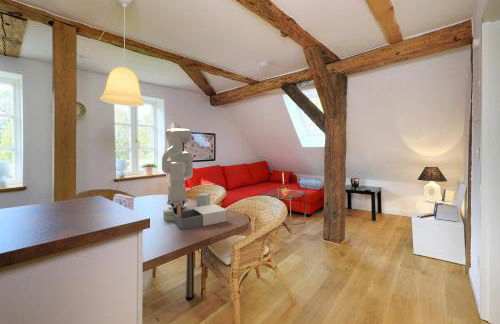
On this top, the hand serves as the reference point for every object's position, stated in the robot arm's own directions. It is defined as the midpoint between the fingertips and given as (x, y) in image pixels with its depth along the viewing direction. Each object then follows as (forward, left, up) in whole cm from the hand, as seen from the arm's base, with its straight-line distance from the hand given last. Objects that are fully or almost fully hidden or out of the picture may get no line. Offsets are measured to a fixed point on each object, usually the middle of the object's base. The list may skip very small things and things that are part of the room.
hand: (177, 213), depth 145 cm
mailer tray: (0, +9, -8) cm, 12 cm away
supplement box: (-19, +25, -8) cm, 32 cm away
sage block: (-15, -1, -8) cm, 17 cm away
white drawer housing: (0, +20, -8) cm, 22 cm away
